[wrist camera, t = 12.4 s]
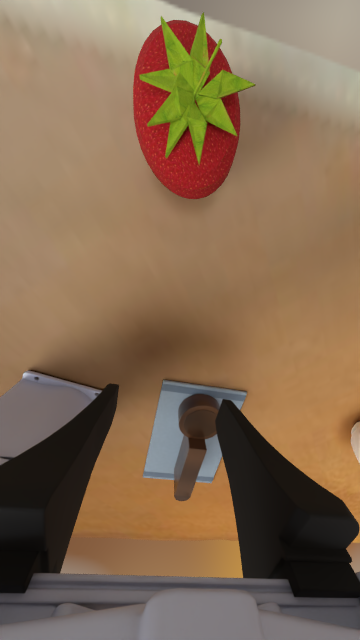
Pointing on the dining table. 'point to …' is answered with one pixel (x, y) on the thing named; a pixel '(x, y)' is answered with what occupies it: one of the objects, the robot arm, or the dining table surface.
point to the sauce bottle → (356, 440)
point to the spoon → (193, 440)
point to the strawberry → (186, 108)
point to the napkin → (170, 436)
